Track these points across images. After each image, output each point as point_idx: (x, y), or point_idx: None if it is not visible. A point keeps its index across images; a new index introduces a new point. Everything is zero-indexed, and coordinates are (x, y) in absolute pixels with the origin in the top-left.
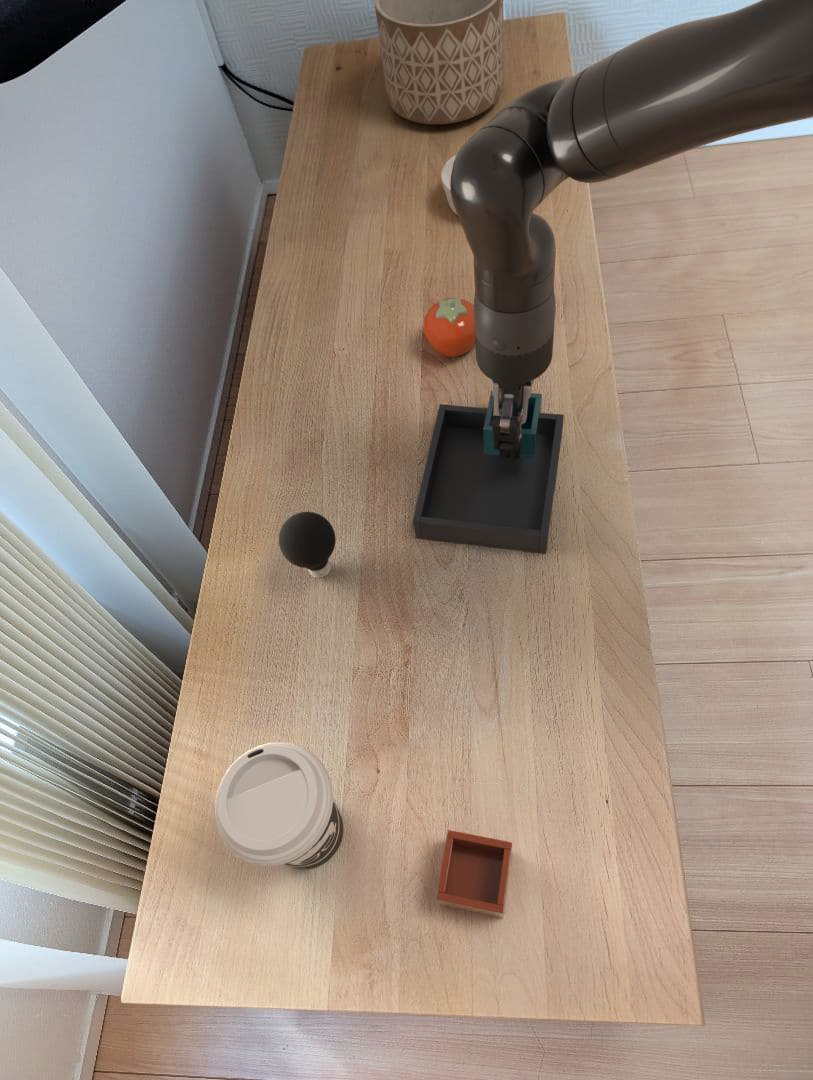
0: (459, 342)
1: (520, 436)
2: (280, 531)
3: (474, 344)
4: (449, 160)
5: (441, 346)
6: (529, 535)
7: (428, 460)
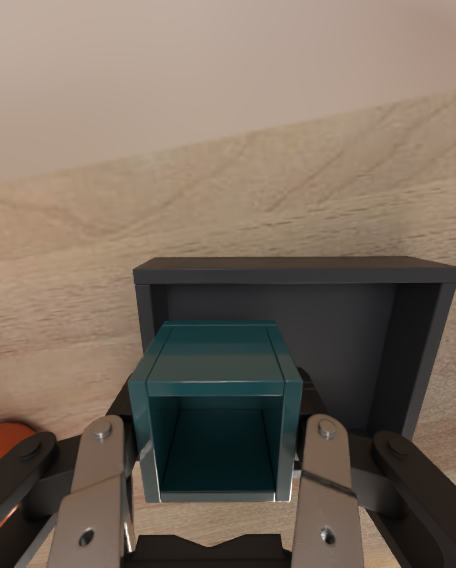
0: None
1: (335, 433)
2: None
3: (2, 432)
4: None
5: None
6: (451, 302)
7: None
